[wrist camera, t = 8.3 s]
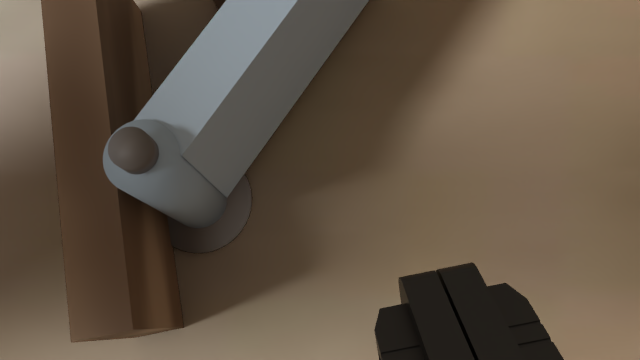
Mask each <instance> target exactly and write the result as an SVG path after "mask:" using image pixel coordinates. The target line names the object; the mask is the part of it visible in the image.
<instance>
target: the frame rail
mask: <svg viewBox="0 0 640 360" xmlns="http://www.w3.org/2000/svg"><path fill="white" fill-rule="evenodd" d="M41 5H42V16H43V28H44V39H45V51H46V62H47V74H48V85H49V96H50V108H51V119H52V131H53V142H54V153H55V165H56V176H57V188H58V199H59V210H60V222H61V233H62V245H63V256H64V267H65V279H66V290H67V302H68V313H69V324H70V336H71V342H83V341H96V340H108V339H121V338H134V337H140V336H145V335H150V334H154V333H159V332H164V331H169V330H174V329H179V328H184V325H183V317H182V310H181V303H180V295H179V288H178V280H177V273H176V266H175V258H174V251H173V247H175V248H178V249H180V250H183V251H186V252H191V253H205V252H211V251H214V250H217V249H219V248H222V247H223V246H225V245H227V244H228V243H230V242H231V241H232V240H234V239H235V238H236V237H237V236H238V235H239V233H240V232H241V231H242V229H243V228H244V226H245V224H246V222H247V220H248V218H249V215H250V212H251V206H252V194H251V188H250V185H249V182H248V179H247V178H246V176H245V174H244V175H243V176H242V178H241V179H240V181H239V182H238V183H237V185H236V186H235V187H234V189H233V190H232V192H231V193H230V194H229V196H228V197H227V205H226V208H225V211H224V213H223V215H222V216H221V217H220V218H219V219H218V220H217V221H216V222H215V223H214V224H212V225H210V226H208V227H204V228H191V227H188V226H186V225H184V224H182V223H180V222H179V221H177V220H175V219H173V218H171V217H169V216H168V215H166V214H164V213H162V212H160V211H159V210H157V209H155V208H153V207H151V206H150V205H148V204H146V203H144V202H142V201H140V200H139V199H137V198H135V197H133V196H131V195H130V194H128V193H126V192H124V191H122V190H121V189H119V188H117V187H116V186H115V185H113V184H112V183H111V181H110V180H109V179H108V177H107V175H106V173H105V170H104V167H103V153H104V149H105V146H106V144H107V142H108V140H109V138H110V137H111V135H112V134H113V133H114V132H115V131H116V130H117V129H118V128H120V127H121V126H123V125H125V124H126V123H129V122H131V121H134V119H135V118H136V117H137V115H138V114H139V113H140V111H141V110H142V109H143V108H144V106H145V105H146V104H147V102H148V101H149V100H150V98H151V97H152V96H153V95H152V88H151V81H150V73H149V66H148V58H147V51H146V44H145V36H144V29H143V21H142V14H141V11H140V9H139V8H138V6H137V5H136V3H135V2H134V1H133V0H41ZM108 155H109V157H110V159H111V161H112V162H113V163H114V164H115V165H117V166H118V167H120V168H121V169H123V170H124V171H126V172H128V173H130V174H143V173H145V172H147V171H149V170H150V169H152V168H153V166H154V165H155V164H156V162H157V160H158V156H159V149H158V145H157V143H156V142H155V140H154V139H153V138H151V137H150V136H149V135H148V134H147V133H146V132H145V131H143V130H142V129H140V128H138V127H132V126H131V127H125V128H122V129H120V130H118V131H117V132H116V133H115V134H114V135H113V136H112V137H111V139H110V141H109V144H108Z"/></svg>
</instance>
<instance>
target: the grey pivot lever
mask: <svg viewBox="0 0 640 360" xmlns="http://www.w3.org/2000/svg"><path fill="white" fill-rule="evenodd" d="M368 1H369V0H226V1H225V3H224V4H223V5H222V6H221V8H220V9H219V10H218V12H217V13H216V14H215V15H214V17H213V18H212V19H211V21H210V22H209V23H208V25H207V26H206V27H205V28H204V30H203V31H202V32H201V34H200V35H199V36H198V38H197V39H196V40H195V41H194V43H193V44H192V45H191V47H190V48H189V49H188V51H187V52H186V53H185V54H184V56H183V57H182V58H181V60H180V61H179V62H178V63H177V65H176V66H175V67H174V69H173V70H172V71H171V73H170V74H169V75H168V76H167V78H166V79H165V80H164V82H163V83H162V84H161V86H160V87H159V88H158V89H157V91H156V92H155V93H154V95H153V96H152V97H151V98H150V100H149V101H148V102H147V104H146V105H145V106H144V108H143V109H142V110H141V111H140V113H139V114H138V115H137V117H136V118H135V119H134V121H131V122H129V123H126V124H125V125H123V126H121V127H120V128H118V129H117V130H116V131H115V132H114V133H113V134H112V135H111V137H112V136H113V135H114V134H115V133H116V132H117V131H118V130H120V129H122V128H125V127H131V126H132V127H138V128H140V129H142V130H143V131H145V132H146V133H147V134H148V135H149V136H150V137H151V138H153V139H154V140H155V142H156V143H157V145H158V149H159V156H158V160H157V162H156V164H155V165H154V166H153V168H152V169H150V170H149V171H147V172H145V173H143V174H130V173H128V172H126V171H124V170H123V169H121V168H120V167H118V166H117V165H115V164H114V163H113V162H112V161H111V159H110V157H109V155H108V144H109V141H110V139H111V137H110V138H109V140H108V142H107V144H106V146H105V149H104V153H103V167H104V170H105V173H106V175H107V177H108V179H109V180H110V181H111V183H112V184H113V185H115V186H116V187H117V188H119V189H121V190H122V191H124V192H126V193H128V194H130V195H131V196H133V197H135V198H137V199H139V200H140V201H142V202H144V203H146V204H148V205H150V206H151V207H153V208H155V209H157V210H159V211H160V212H162V213H164V214H166V215H168V216H169V217H171V218H173V219H175V220H177V221H179V222H180V223H182V224H184V225H186V226H188V227H191V228H204V227H208V226H210V225H212V224H214V223H215V222H216V221H217V220H218V219H219V218H220V217H221V216H222V215H223V213H224V211H225V208H226V205H227V197H228V196H229V194H230V193H231V192H232V190H233V189H234V187H235V186H236V185H237V183H238V182H239V181H240V179H241V178H242V176H243V175H244V174H245V172H246V171H247V169H248V168H249V167H250V165H251V164H252V162H253V161H254V160H255V158H256V157H257V155H258V154H259V153H260V151H261V150H262V149H263V147H264V146H265V144H266V143H267V142H268V140H269V139H270V137H271V136H272V135H273V133H274V132H275V130H276V129H277V128H278V126H279V125H280V124H281V122H282V121H283V119H284V118H285V117H286V115H287V114H288V112H289V111H290V110H291V108H292V107H293V105H294V104H295V103H296V101H297V100H298V98H299V97H300V96H301V94H302V93H303V92H304V90H305V89H306V87H307V86H308V85H309V83H310V82H311V80H312V79H313V78H314V76H315V75H316V73H317V72H318V71H319V69H320V68H321V66H322V65H323V64H324V62H325V61H326V60H327V58H328V57H329V55H330V54H331V53H332V51H333V50H334V48H335V47H336V46H337V44H338V43H339V41H340V40H341V39H342V37H343V36H344V34H345V33H346V32H347V30H348V29H349V28H350V26H351V25H352V23H353V22H354V21H355V19H356V18H357V16H358V15H359V14H360V12H361V11H362V9H363V8H364V7H365V5H366V4H367V2H368Z"/></svg>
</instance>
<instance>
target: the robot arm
mask: <svg viewBox="0 0 640 360" xmlns="http://www.w3.org/2000/svg"><path fill="white" fill-rule="evenodd" d="M399 289H400V297H401V305H396V306H391V307H386V308H381V309H380V310H379V314H378V318H377V322H376V326H375V336H376V342H377V349H378V355H379V360H564V359H563V358H562V356H561V354H560V353H559V351H558V349H557V348H556V346H555V344H554V343H553V342H551V339H550V336H549V334H548V333H547V331H546V329H545V328H544V326H543V324H541V323H540V320H539V318H538V316H537V315H536V313H535V311H534V310H533V308H532V306H531V305H530V303H529V301H528V300H527V299H526V298H525V297H524V296H522V295H521V294H520V293H518V292H517V291H516V290H514V289H513V288H512V287H510V286H509V285H508V284H506V283H503V284H498V285H493V286H488V287H487V286H486V284H485V282H484V280H483V278H482V276H481V274H480V273H479V271H478V269H477V267H476V266H475V264H474V263H467V264H462V265H458V266H453V267H448V268H443V269H438V270H436V272H435V271H429V272H424V273H419V274H414V275H409V276H404V277H399Z"/></svg>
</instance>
